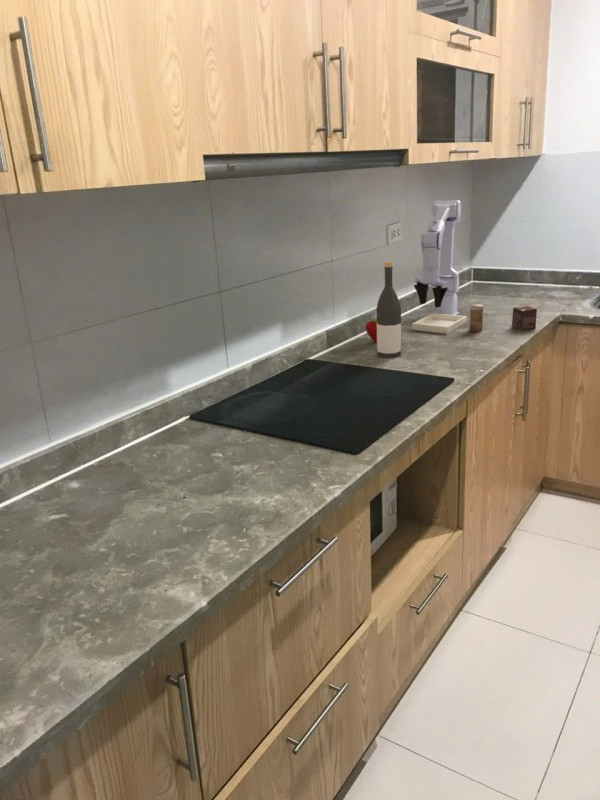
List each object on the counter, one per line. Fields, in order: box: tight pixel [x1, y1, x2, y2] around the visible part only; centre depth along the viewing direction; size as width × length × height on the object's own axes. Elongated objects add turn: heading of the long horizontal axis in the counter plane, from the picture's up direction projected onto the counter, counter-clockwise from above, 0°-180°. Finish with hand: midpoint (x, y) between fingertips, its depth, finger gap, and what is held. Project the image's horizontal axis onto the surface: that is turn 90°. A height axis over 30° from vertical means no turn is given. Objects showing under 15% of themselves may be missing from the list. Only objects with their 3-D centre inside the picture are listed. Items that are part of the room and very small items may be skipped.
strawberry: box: [364, 318, 377, 344], centre depth 223 cm, size 6×8×10 cm
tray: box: [411, 312, 468, 335], centre depth 240 cm, size 18×14×2 cm
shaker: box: [469, 303, 484, 333], centre depth 231 cm, size 5×5×9 cm
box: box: [511, 305, 538, 331], centre depth 231 cm, size 6×6×7 cm
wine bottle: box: [376, 261, 402, 359], centre depth 205 cm, size 8×8×30 cm
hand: (430, 305), depth 231 cm, fingers open, 7 cm apart
